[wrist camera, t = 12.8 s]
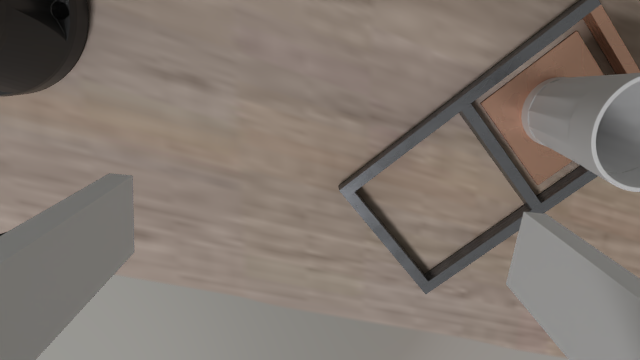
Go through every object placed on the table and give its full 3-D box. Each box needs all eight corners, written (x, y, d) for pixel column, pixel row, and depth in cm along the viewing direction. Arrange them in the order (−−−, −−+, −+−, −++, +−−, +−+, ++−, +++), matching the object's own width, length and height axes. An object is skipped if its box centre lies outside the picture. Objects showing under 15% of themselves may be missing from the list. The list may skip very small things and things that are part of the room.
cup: (612, 76, 39) (736, 83, 28) (582, 161, 41) (685, 201, 30) (527, 59, 39) (617, 59, 27) (501, 146, 41) (574, 180, 29)
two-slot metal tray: (422, 286, 45) (425, 294, 44) (338, 185, 42) (339, 190, 41) (659, 122, 41) (671, 125, 39) (584, -4, 37) (595, -6, 36)
